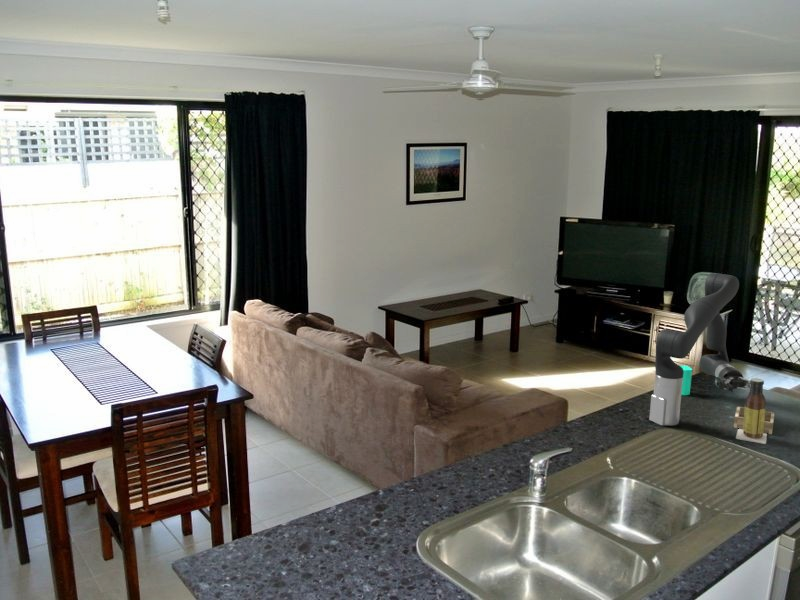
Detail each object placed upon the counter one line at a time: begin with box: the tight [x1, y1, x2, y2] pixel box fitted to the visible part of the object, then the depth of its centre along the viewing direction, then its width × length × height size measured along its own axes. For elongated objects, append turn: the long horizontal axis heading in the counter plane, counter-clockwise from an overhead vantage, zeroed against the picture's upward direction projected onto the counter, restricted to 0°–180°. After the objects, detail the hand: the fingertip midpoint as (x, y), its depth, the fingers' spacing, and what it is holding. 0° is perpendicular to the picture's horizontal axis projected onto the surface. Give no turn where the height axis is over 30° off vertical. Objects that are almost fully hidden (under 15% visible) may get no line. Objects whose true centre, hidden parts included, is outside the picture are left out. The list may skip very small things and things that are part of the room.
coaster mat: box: [735, 428, 768, 445], centre depth 241 cm, size 9×9×1 cm
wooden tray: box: [733, 406, 775, 435], centre depth 251 cm, size 12×12×4 cm
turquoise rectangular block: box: [679, 364, 693, 396], centre depth 284 cm, size 6×6×12 cm
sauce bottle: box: [742, 377, 766, 438], centre depth 239 cm, size 7×6×20 cm
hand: (744, 390), depth 248 cm, fingers open, 8 cm apart
